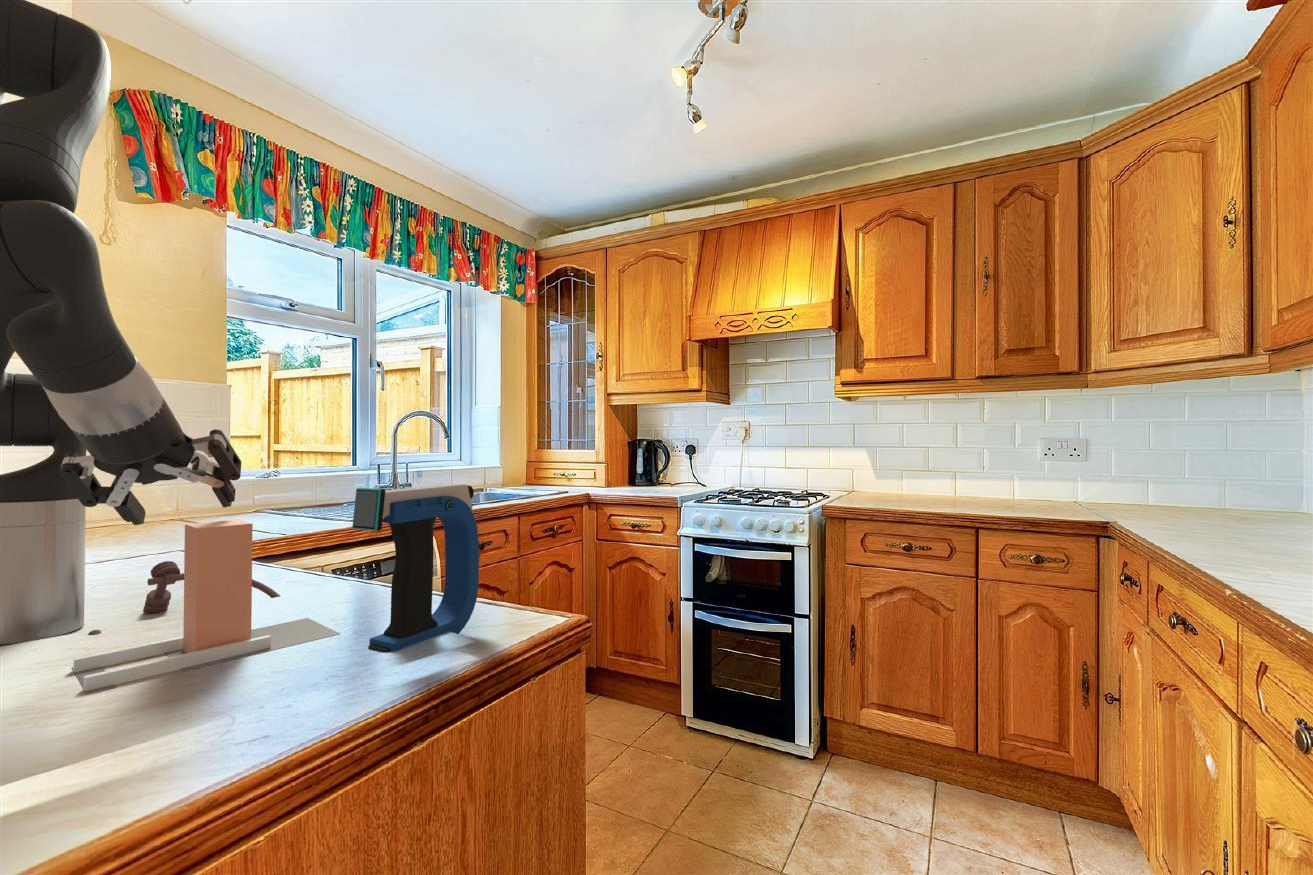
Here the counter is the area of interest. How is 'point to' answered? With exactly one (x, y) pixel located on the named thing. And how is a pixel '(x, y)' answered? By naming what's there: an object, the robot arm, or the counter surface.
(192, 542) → the terracotta block
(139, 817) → the counter surface
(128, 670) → the channel
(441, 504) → the handheld scanner
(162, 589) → the toilet paper hanger
